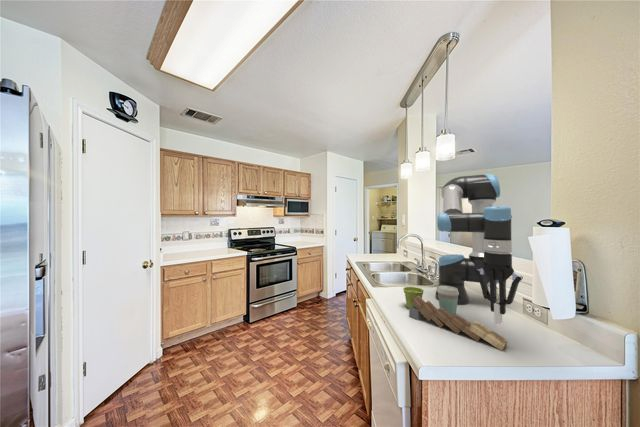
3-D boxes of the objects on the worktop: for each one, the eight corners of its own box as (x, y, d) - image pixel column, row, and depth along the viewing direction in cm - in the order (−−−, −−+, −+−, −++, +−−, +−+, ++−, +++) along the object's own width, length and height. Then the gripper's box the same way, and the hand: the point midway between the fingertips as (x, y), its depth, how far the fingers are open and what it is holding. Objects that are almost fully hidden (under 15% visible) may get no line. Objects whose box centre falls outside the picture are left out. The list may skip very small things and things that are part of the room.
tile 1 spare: (506, 345, 77) (473, 325, 85) (508, 340, 77) (475, 320, 84) (501, 350, 74) (468, 329, 82) (503, 345, 74) (470, 324, 81)
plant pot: (400, 303, 115) (400, 286, 115) (419, 304, 114) (419, 286, 115) (406, 311, 105) (406, 292, 106) (427, 311, 105) (427, 292, 105)
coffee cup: (462, 320, 96) (462, 291, 96) (440, 318, 98) (440, 290, 98) (455, 312, 105) (454, 285, 105) (434, 310, 106) (434, 284, 106)
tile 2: (482, 337, 83) (455, 318, 90) (485, 333, 82) (457, 313, 89) (477, 341, 80) (449, 321, 87) (479, 337, 79) (451, 317, 86)
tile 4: (446, 324, 93) (426, 303, 99) (449, 321, 92) (429, 300, 98) (440, 327, 90) (420, 306, 96) (443, 324, 89) (423, 303, 95)
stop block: (416, 313, 103) (416, 304, 103) (425, 316, 100) (425, 307, 100) (409, 316, 100) (409, 307, 100) (418, 320, 96) (417, 310, 97)
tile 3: (463, 330, 88) (439, 311, 95) (465, 326, 87) (441, 307, 94) (457, 334, 85) (433, 314, 92) (460, 330, 84) (435, 310, 91)
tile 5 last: (434, 318, 96) (416, 298, 103) (437, 315, 95) (419, 295, 102) (428, 321, 93) (410, 301, 100) (431, 318, 92) (412, 298, 99)
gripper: (471, 250, 81) (471, 318, 80) (519, 255, 70) (520, 333, 70) (479, 249, 85) (480, 313, 85) (525, 253, 75) (526, 326, 74)
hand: (498, 322), depth 77 cm, fingers closed
